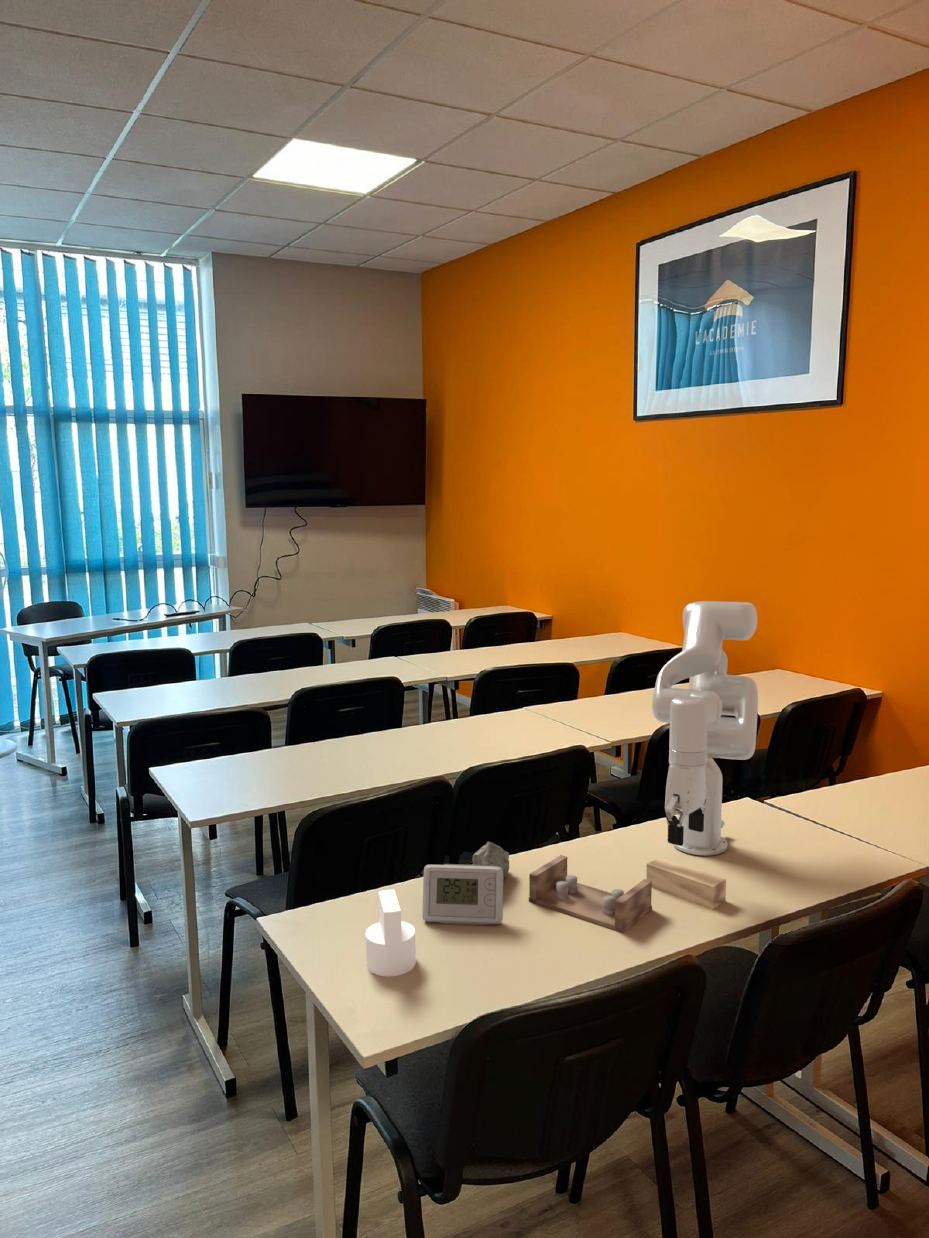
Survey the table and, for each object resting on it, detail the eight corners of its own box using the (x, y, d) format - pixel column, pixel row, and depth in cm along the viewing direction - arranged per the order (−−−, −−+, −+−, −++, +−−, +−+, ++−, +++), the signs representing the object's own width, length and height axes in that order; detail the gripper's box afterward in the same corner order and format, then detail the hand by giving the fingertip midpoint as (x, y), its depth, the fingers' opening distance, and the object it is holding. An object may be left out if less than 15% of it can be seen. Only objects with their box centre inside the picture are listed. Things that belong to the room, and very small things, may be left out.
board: (659, 878, 196) (660, 856, 195) (725, 902, 184) (726, 879, 184) (646, 885, 193) (646, 863, 192) (712, 910, 181) (713, 886, 180)
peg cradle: (560, 880, 195) (560, 854, 194) (652, 909, 181) (652, 881, 180) (528, 901, 186) (528, 873, 185) (623, 932, 172) (623, 903, 171)
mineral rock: (503, 868, 202) (502, 826, 200) (531, 886, 193) (531, 841, 191) (454, 882, 195) (453, 838, 194) (481, 901, 186) (480, 855, 185)
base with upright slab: (419, 972, 159) (418, 909, 157) (369, 979, 157) (366, 914, 156) (411, 947, 168) (410, 887, 166) (363, 953, 166) (361, 892, 164)
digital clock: (418, 923, 177) (416, 872, 176) (433, 903, 186) (432, 854, 184) (497, 934, 172) (496, 882, 171) (509, 913, 181) (508, 863, 179)
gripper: (689, 745, 193) (687, 821, 195) (651, 763, 180) (650, 845, 182) (722, 750, 188) (720, 829, 190) (686, 769, 175) (684, 853, 177)
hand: (685, 837), depth 186 cm, fingers open, 9 cm apart
